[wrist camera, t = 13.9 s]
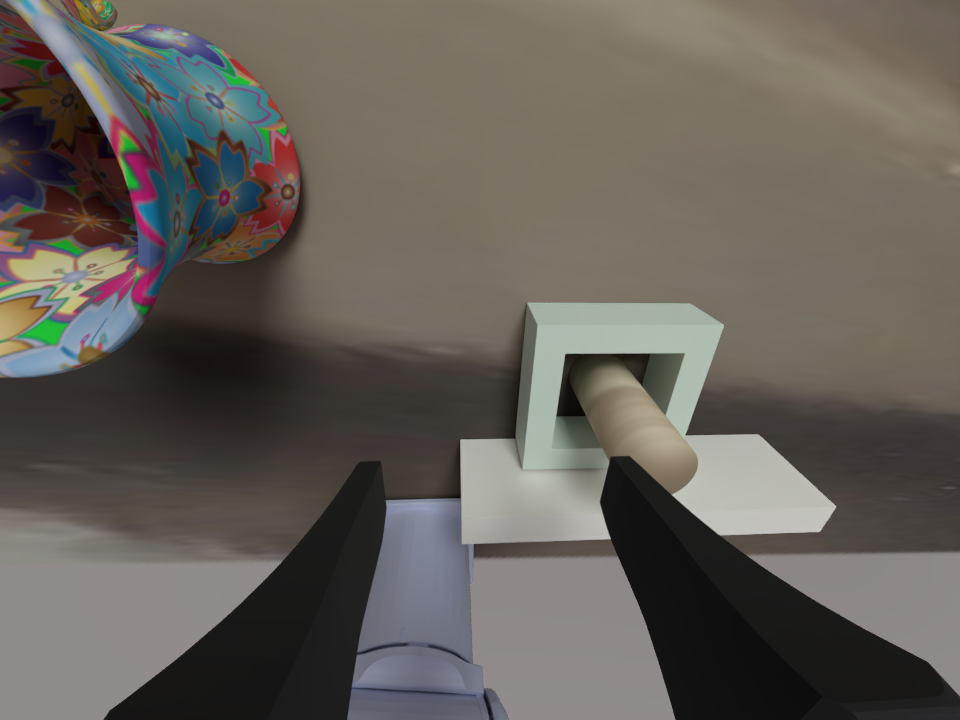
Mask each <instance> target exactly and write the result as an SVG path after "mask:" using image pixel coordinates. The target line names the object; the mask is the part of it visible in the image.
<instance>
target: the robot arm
mask: <svg viewBox="0 0 960 720" xmlns="http://www.w3.org/2000/svg"><path fill="white" fill-rule="evenodd" d="M600 505H601V509H602V513H603V516H604V520H605V523H606V527H607V530H608V533H609V536H610V538H611V541H612V543H613V545H614V548H615V550H616V553H617V555H618V557H619V560H620V562H621V564H622V567H623V569H624V571H625V574H626V576H627V578H628V581H629V583H630V585H631V588H632V590H633V593H634V595H635V597H636V599H637V602H638V604H639V607H640V609H641V612H642V614H643V617H644V620H645V622H646V625H647V628H648V631H649V634H650V637H651V640H652V643H653V646H654V650H655V653H656V656H657V658H658V662H659V665H660V669H661V672H662V675H663V678H664V682H665V685H666V688H667V692H668V695H669V698H670V701H671V705H672V709H673V712H674V716H675V719H676V720H960V696H959V695H958V694H957V693H956V692H955V691H954V690H953V689H952V688H951V687H950V685H949V684H948V683H947V682H946V681H945V680H944V679H943V678H942V677H941V676H940V675H939V674H938V673H937V672H936V670H935V669H934V668H933V667H932V666H931V665H930V664H929V663H928V662H927V661H925V660H923V659H921V658H919V657H917V656H915V655H913V654H911V653H909V652H907V651H905V650H903V649H901V648H900V647H898V646H896V645H894V644H892V643H890V642H888V641H886V640H884V639H882V638H880V637H878V636H876V635H875V634H873V633H871V632H869V631H867V630H865V629H863V628H861V627H860V626H858V625H856V624H854V623H853V622H851V621H849V620H847V619H846V618H844V617H842V616H840V615H839V614H837V613H835V612H833V611H831V610H830V609H828V608H826V607H825V606H823V605H821V604H819V603H818V602H816V601H815V600H813V599H811V598H810V597H808V596H806V595H805V594H803V593H802V592H800V591H798V590H797V589H795V588H794V587H792V586H791V585H789V584H788V583H786V582H784V581H783V580H781V579H780V578H778V577H777V576H775V575H774V574H772V573H771V572H769V571H768V570H766V569H765V568H763V567H762V566H760V565H759V564H758V563H756V562H755V561H753V560H752V559H751V558H749V557H748V556H746V555H745V554H744V553H742V552H741V551H740V550H738V549H737V548H735V547H734V546H733V545H731V544H730V543H729V542H727V541H726V540H725V539H724V538H722V537H721V536H720V535H718V534H717V533H716V532H715V531H714V530H712V529H711V528H710V527H709V526H707V525H706V524H705V523H704V522H702V521H701V520H700V519H699V518H698V517H696V516H695V515H694V514H693V513H692V512H691V511H689V510H688V509H687V508H686V507H685V506H684V505H683V504H681V503H680V502H679V501H678V500H677V499H676V498H675V497H674V496H672V495H671V494H670V493H669V492H668V491H667V490H666V489H665V488H664V487H663V486H662V485H660V484H659V483H658V482H657V481H656V480H655V479H654V478H653V477H652V476H651V475H650V474H649V473H648V472H647V471H645V470H644V469H643V468H642V467H641V466H640V465H639V464H638V463H637V462H636V461H635V460H634V459H632V458H631V457H630V456H611V458H610V462H609V466H608V470H607V474H606V478H605V482H604V486H603V490H602V494H601V498H600ZM473 552H474V544H462V536H461V498H448V499H411V500H386V498H385V491H384V483H383V475H382V467H381V461H369V462H360V463H358V464H357V466H356V467H355V469H354V470H353V472H352V473H351V475H350V476H349V478H348V479H347V481H346V482H345V484H344V485H343V487H342V488H341V490H340V491H339V492H338V494H337V495H336V497H335V498H334V499H333V501H332V502H331V503H330V505H329V506H328V507H327V509H326V510H325V511H324V513H323V514H322V515H321V517H320V518H319V519H318V520H317V522H316V523H315V524H314V525H313V527H312V528H311V529H310V530H309V531H308V533H307V534H306V535H305V536H304V537H303V539H302V540H301V541H300V542H299V543H298V545H297V546H296V547H295V548H294V549H293V550H292V551H291V553H290V554H289V555H288V556H287V557H286V558H285V559H284V560H283V561H282V563H281V564H280V565H279V566H278V567H277V568H276V569H275V570H274V571H273V572H272V573H271V574H270V575H269V576H268V577H267V578H266V579H265V580H264V581H263V582H262V583H261V584H260V585H259V586H258V587H257V588H256V589H255V590H254V591H253V592H252V593H251V594H250V595H249V596H248V597H247V598H246V599H245V600H244V601H243V602H242V603H241V604H240V605H239V606H238V607H236V608H235V609H234V610H233V611H232V612H231V613H230V614H229V615H228V616H227V617H226V618H224V619H223V620H222V621H221V622H220V623H219V624H218V625H216V626H215V627H214V628H213V629H212V630H211V631H209V632H208V633H207V634H206V635H205V636H204V637H202V638H201V639H200V640H199V641H198V642H197V643H195V644H194V645H193V646H192V647H191V648H190V649H188V650H187V651H186V652H185V653H184V654H183V655H181V656H180V657H179V658H178V659H177V660H175V661H174V662H173V663H171V664H170V665H169V666H168V667H166V668H165V669H164V670H162V671H161V672H160V673H159V674H157V675H156V676H155V677H153V678H152V679H151V680H149V681H148V682H147V683H146V684H144V685H143V686H142V687H140V688H139V689H138V690H137V691H135V692H134V693H133V694H132V695H130V696H129V697H127V698H126V699H125V700H124V701H122V702H121V703H119V704H118V705H117V706H115V707H114V708H113V709H111V710H110V711H109V712H108V714H107V716H106V717H105V718H104V720H509V718H508V715H507V713H506V710H505V709H504V707H503V705H502V704H501V702H500V700H499V697H498V696H497V694H496V693H495V691H493V690H492V689H488V688H484V687H483V669H482V666H481V665H475V664H473V659H472V658H473V657H472V629H471V599H470V583H472V581H473Z"/></svg>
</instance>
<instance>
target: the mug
mask: <svg viewBox="0 0 960 720" xmlns="http://www.w3.org/2000/svg"><path fill="white" fill-rule="evenodd" d="M60 1H61V3H62V4H63V5H64V7H65V8H66V10H67V11H68V13H69V14H70V15H71V17H70V16H69V15H67V14H66V13H64V12H63V11H61V10H60V9H58V8H57V7H56V6H54V5H53V4H52V3H50V2H49V1H47V0H0V377H2V378H24V377H39V376H46V375H53V374H59V373H63V372H67V371H71V370H75V369H79V368H81V367H84V366H87V365H89V364H92V363H94V362H96V361H98V360H100V359H102V358H104V357H106V356H108V355H109V354H111V353H112V352H114V351H115V350H117V349H118V348H120V347H121V346H122V345H124V344H125V343H126V342H127V341H128V340H129V339H130V338H131V337H132V336H133V335H134V334H135V333H136V332H137V330H138V329H139V328H140V327H141V325H142V324H143V323H144V322H145V320H146V318H147V317H148V315H149V313H150V312H151V310H152V308H153V306H154V304H155V301H156V299H157V296H158V294H159V291H160V288H161V286H162V283H163V282H164V280H165V279H166V277H167V276H168V275H169V274H170V273H171V272H172V271H173V270H174V269H175V268H176V267H177V266H179V265H180V264H182V263H184V262H186V261H188V260H194V261H198V262H204V263H214V264H229V263H237V262H243V261H246V260H250V259H252V258H255V257H258V256H259V255H261V254H263V253H265V252H266V251H268V250H269V249H271V248H272V247H273V246H274V245H275V244H277V243H278V242H279V240H280V239H281V238H282V237H283V236H284V234H285V233H286V231H287V230H288V228H289V227H290V225H291V223H292V221H293V218H294V216H295V213H296V210H297V206H298V202H299V195H300V170H299V163H298V158H297V154H296V149H295V146H294V143H293V140H292V137H291V135H290V132H289V130H288V127H287V125H286V123H285V121H284V119H283V117H282V115H281V114H280V112H279V110H278V109H277V107H276V105H275V104H274V102H273V101H272V99H271V98H270V97H269V95H268V94H267V92H266V91H265V90H264V89H263V87H262V86H261V85H260V84H259V83H258V81H257V80H256V79H255V78H254V77H253V76H252V75H251V74H250V73H249V72H248V71H247V70H246V69H245V68H244V67H243V66H242V65H241V64H239V63H238V62H237V61H236V60H235V59H233V58H232V57H231V56H230V55H228V54H227V53H226V52H224V51H223V50H221V49H220V48H218V47H217V46H215V45H214V44H212V43H210V42H208V41H206V40H204V39H203V38H201V37H198V36H196V35H194V34H191V33H189V32H186V31H183V30H180V29H177V28H173V27H169V26H164V25H155V24H134V25H127V26H122V27H119V28H115V29H112V30H110V31H108V32H106V33H104V32H101V31H104V30H107V29H109V28H111V27H112V26H113V24H114V23H115V21H116V18H117V11H116V9H115V8H114V6H113V5H112V4H111V3H109V2H107V1H103V0H94V1H89V0H60Z"/></svg>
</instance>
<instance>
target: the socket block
mask: <svg viewBox="0 0 960 720" xmlns="http://www.w3.org/2000/svg"><path fill="white" fill-rule="evenodd" d="M723 327H724V325H723V324H722V323H720V322H718V321H717V320H715V319H714V318H712V317H711V316H709V315H708V314H706V313H704V312H703V311H701V310H700V309H698V308H697V307H695V306H693V305H692V304H690V303H527V308H526V320H525V331H524V342H523V354H522V365H521V377H520V388H519V399H518V411H517V422H516V433H515V437H516V442H517V446H518V451H519V456H520V460H521V465H522V470H537V469H581V468H608V466H609V460H608V458H607V456H606V454H605V452H604V450H603V448H602V446H601V444H600V442H599V440H598V438H597V436H596V434H595V432H594V430H593V428H592V426H591V424H590V422H589V420H588V418H587V416H556V414H557V407H558V400H559V393H560V387H561V380H562V373H563V366H564V360H565V354H615V353H650V357H649V360H648V364H647V368H646V372H645V376H644V379H643V383H642V387H643V388H644V390H645V391H646V392H647V393H648V395H649V396H650V397H651V398H652V399H653V401H654V402H655V403H656V404H657V406H658V407H659V408H660V409H661V411H662V412H663V413H664V414H665V416H666V417H667V418H668V419H669V421H670V422H671V423H672V424H673V426H674V427H675V428H676V429H677V431H678V432H679V433H680V434H681V436H682V437H683V438H684V437H685V434H686V431H687V429H688V426H689V423H690V420H691V417H692V415H693V412H694V409H695V406H696V403H697V400H698V398H699V395H700V392H701V389H702V386H703V384H704V381H705V378H706V375H707V372H708V370H709V367H710V364H711V361H712V358H713V355H714V353H715V350H716V347H717V344H718V341H719V339H720V336H721V333H722V330H723Z"/></svg>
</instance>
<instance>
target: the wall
mask: <svg viewBox="0 0 960 720" xmlns="http://www.w3.org/2000/svg"><path fill="white" fill-rule="evenodd" d="M684 439H685V441H686V442H687V443H688V444H689V446H690V447H691V448H692V449H693V451H694V452H695V453H696V455H697V458H698V468H697V471H696V473H695V475H694V477H693V478H692V480H691V481H690V482H689V483H688V484H687V485H686V486H685V487H684V488H682V489H681V490H679V491H678V492H676V493H674V494H672V496H674V497H675V498H676V499H677V500H678V501H679V502H680V503H681V504H683V505H684V506H685V507H686V508H687V509H688V510H689V511H691V512H692V513H693V514H694V515H695V516H696V517H698V518H699V519H700V520H701V521H702V522H704V523H705V524H706V525H707V526H709V527H710V528H711V529H712V530H714V531H715V532H716V533H717V534H718V535H741V534H770V533H798V532H820V531H821V529H822V528H823V526H824V525H825V523H826V522H827V520H828V519H829V517H830V516H831V514H832V513H833V511H834V510H835V508H836V506H835V505H834V504H833V503H832V502H831V501H830V500H829V499H828V498H826V497H825V496H824V495H823V494H822V493H821V492H820V491H819V490H818V489H817V488H816V487H815V486H814V485H812V484H811V483H810V482H809V481H808V480H807V479H806V478H805V477H804V476H803V475H802V474H801V473H800V472H798V471H797V470H796V469H795V468H794V467H793V466H792V465H791V464H790V463H789V462H788V461H787V460H785V459H784V458H783V457H782V456H781V455H780V454H779V453H778V452H777V451H776V450H775V449H774V448H773V447H771V446H770V445H769V444H768V443H767V442H766V441H765V440H764V439H763V438H762V437H761V436H760V435H759V434H748V435H692V436H685V437H684ZM607 470H608V468H581V469H537V470H522V465H521V460H520V456H519V451H518V446H517V442H516V439H469V440H460V476H461V536H462V544H484V543H512V542H541V541H569V540H598V539H611V538H610V536H609V533H608V530H607V527H606V523H605V520H604V516H603V513H602V509H601V505H600V498H601V494H602V490H603V486H604V482H605V478H606V474H607Z"/></svg>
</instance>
